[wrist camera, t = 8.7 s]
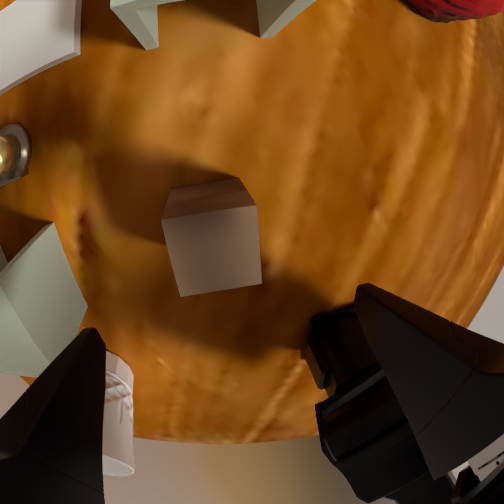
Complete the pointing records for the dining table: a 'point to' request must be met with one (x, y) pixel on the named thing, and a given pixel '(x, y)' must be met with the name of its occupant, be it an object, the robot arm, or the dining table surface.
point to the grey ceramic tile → (37, 38)
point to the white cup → (118, 418)
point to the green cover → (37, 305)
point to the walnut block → (212, 237)
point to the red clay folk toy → (457, 9)
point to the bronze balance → (14, 153)
